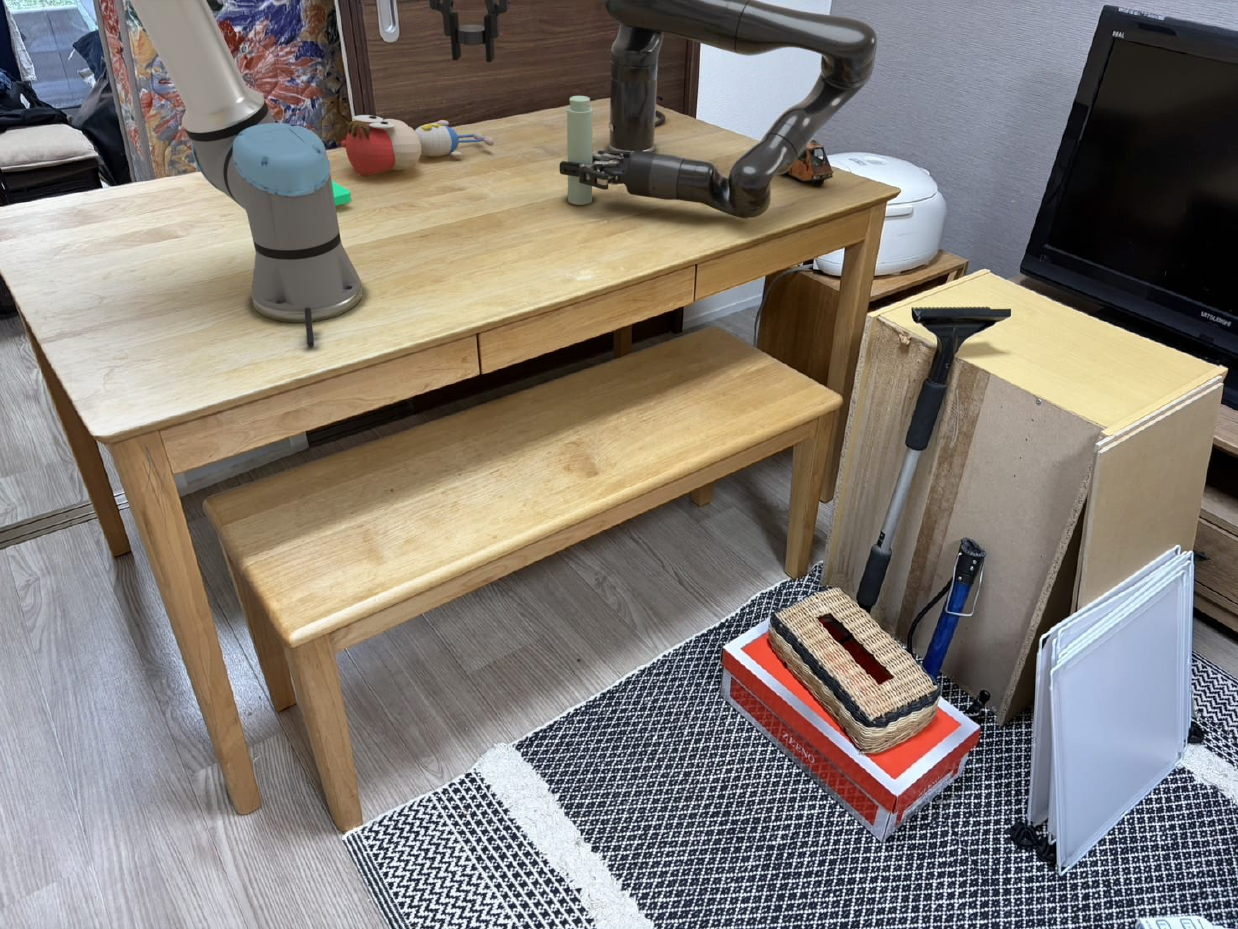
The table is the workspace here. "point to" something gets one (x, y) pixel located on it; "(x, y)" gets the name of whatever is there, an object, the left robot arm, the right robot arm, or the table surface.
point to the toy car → (811, 165)
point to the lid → (470, 34)
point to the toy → (399, 143)
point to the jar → (579, 146)
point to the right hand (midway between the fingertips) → (565, 162)
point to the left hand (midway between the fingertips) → (473, 58)
